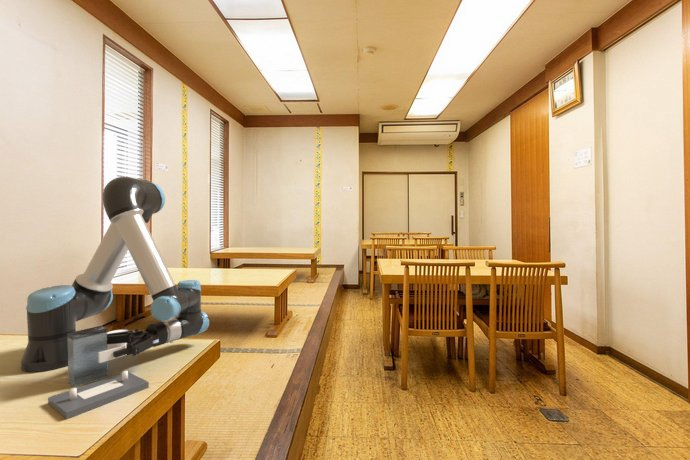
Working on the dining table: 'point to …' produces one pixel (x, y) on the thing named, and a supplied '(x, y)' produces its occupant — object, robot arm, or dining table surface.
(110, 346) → the white cylinder
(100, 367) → the block
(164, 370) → the dining table surface
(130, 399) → the dining table surface
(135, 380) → the slotted base plate
